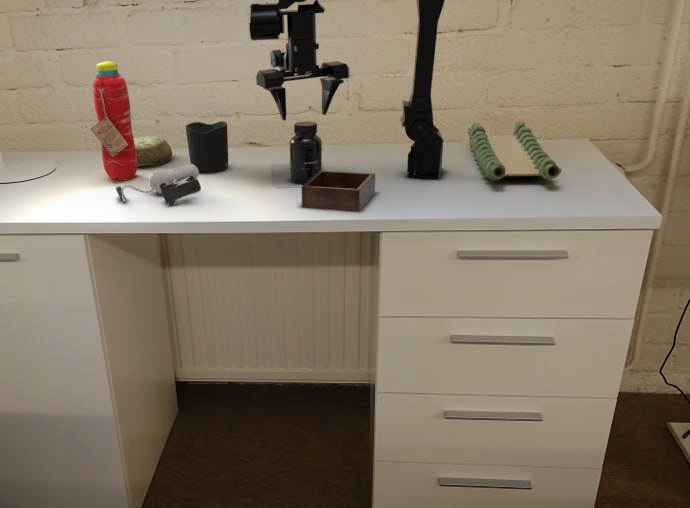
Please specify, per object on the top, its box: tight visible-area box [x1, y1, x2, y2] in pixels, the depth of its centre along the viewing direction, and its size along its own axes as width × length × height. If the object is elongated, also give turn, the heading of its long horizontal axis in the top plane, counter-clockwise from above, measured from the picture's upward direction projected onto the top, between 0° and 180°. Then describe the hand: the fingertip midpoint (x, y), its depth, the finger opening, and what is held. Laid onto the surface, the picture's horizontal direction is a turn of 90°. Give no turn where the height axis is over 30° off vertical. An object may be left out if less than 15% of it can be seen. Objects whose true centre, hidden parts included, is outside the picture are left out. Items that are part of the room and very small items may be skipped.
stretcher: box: [467, 120, 563, 182], centre depth 170 cm, size 41×14×5 cm, turn 173°
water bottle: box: [90, 61, 139, 182], centre depth 171 cm, size 12×8×25 cm, turn 164°
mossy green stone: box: [133, 136, 173, 167], centre depth 188 cm, size 14×13×5 cm
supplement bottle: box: [289, 120, 323, 185], centre depth 165 cm, size 7×7×12 cm
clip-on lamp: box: [115, 163, 202, 206], centre depth 161 cm, size 12×6×18 cm
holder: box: [301, 169, 376, 212], centre depth 154 cm, size 12×12×4 cm
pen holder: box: [185, 120, 229, 174], centre depth 178 cm, size 9×9×10 cm
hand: (304, 117), depth 164 cm, fingers open, 9 cm apart
